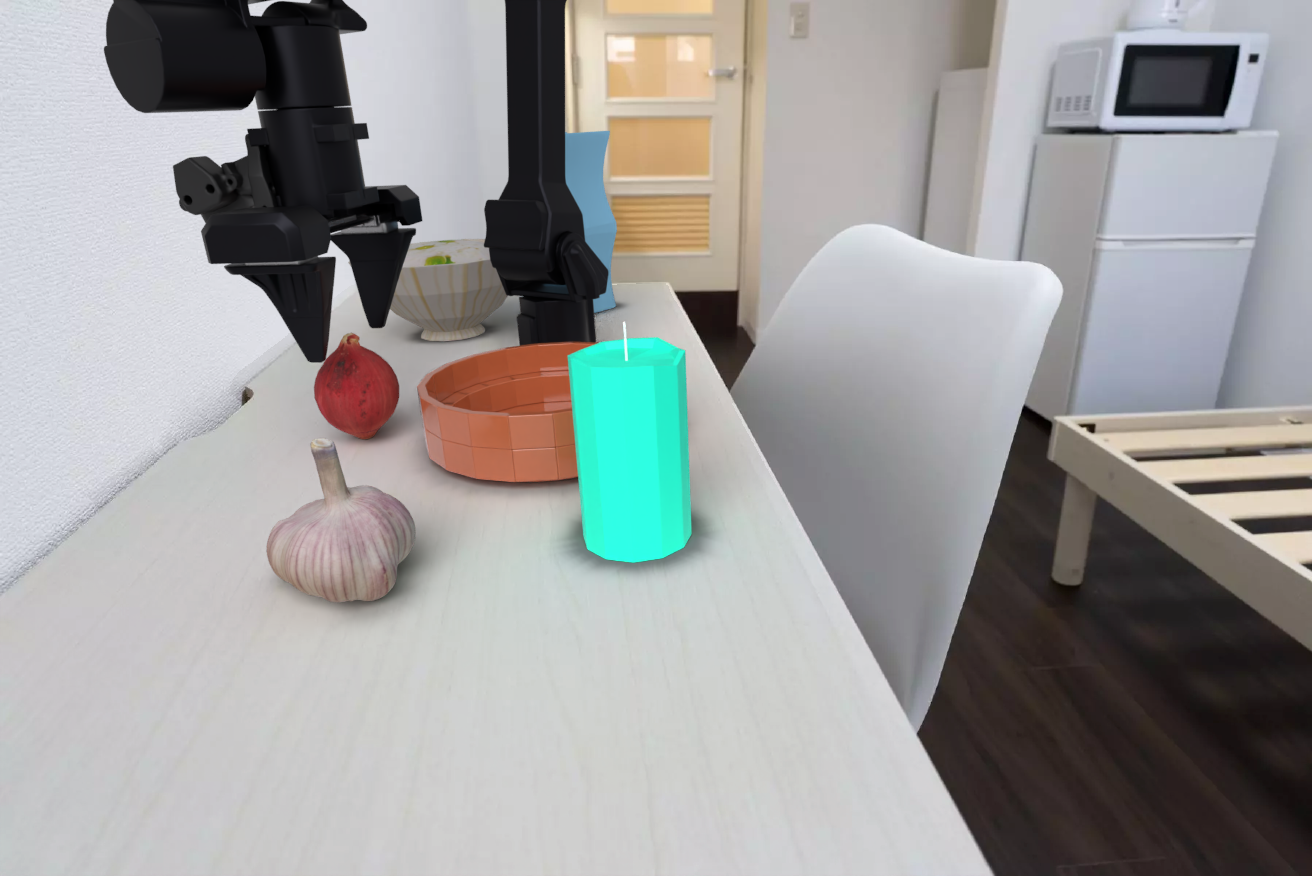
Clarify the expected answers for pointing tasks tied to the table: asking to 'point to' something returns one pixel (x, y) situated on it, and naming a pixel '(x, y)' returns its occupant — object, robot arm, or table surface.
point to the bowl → (448, 288)
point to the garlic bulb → (342, 537)
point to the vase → (592, 199)
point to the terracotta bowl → (503, 414)
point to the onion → (356, 389)
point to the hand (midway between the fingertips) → (349, 343)
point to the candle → (632, 447)
